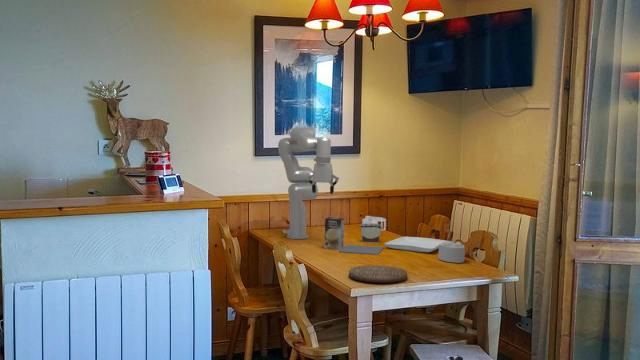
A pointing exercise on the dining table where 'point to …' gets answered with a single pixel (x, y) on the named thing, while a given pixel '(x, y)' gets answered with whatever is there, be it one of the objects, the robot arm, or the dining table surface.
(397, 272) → the trivet
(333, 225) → the coffee box
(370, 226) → the food container
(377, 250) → the mat
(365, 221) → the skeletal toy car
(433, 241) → the square plate
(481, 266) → the dining table surface
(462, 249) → the lumpy-topped squat cylinder
